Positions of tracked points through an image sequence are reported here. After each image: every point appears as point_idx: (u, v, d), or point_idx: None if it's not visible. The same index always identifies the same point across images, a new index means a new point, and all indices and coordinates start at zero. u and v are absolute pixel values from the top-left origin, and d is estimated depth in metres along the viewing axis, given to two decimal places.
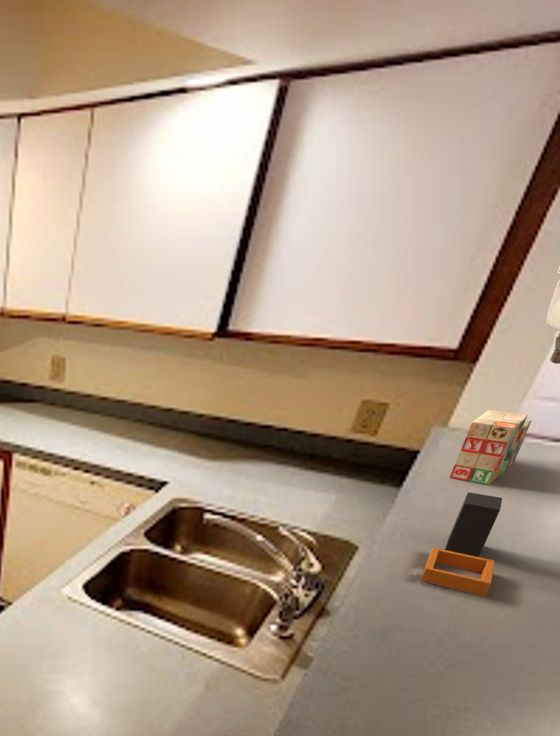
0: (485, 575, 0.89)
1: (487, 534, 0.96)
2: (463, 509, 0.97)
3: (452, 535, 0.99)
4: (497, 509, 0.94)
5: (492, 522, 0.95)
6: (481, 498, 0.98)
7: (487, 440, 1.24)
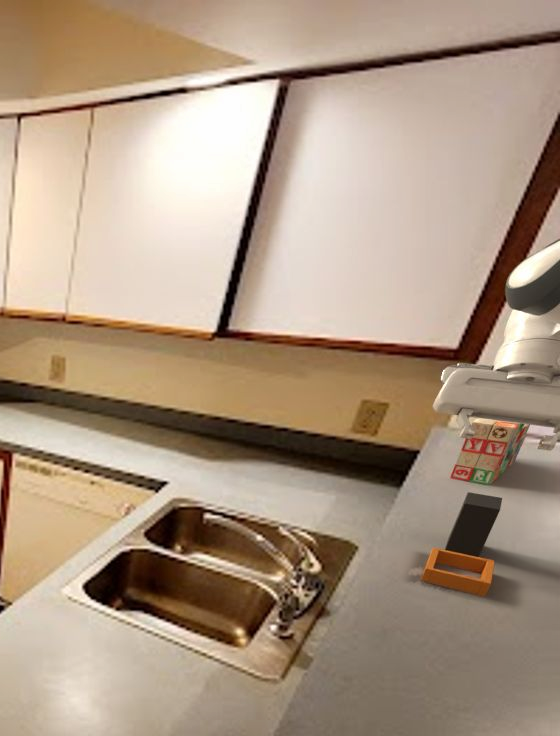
0: (485, 575, 0.89)
1: (487, 534, 0.96)
2: (463, 509, 0.97)
3: (452, 535, 0.99)
4: (497, 509, 0.94)
5: (492, 522, 0.95)
6: (481, 498, 0.98)
7: (488, 440, 1.24)
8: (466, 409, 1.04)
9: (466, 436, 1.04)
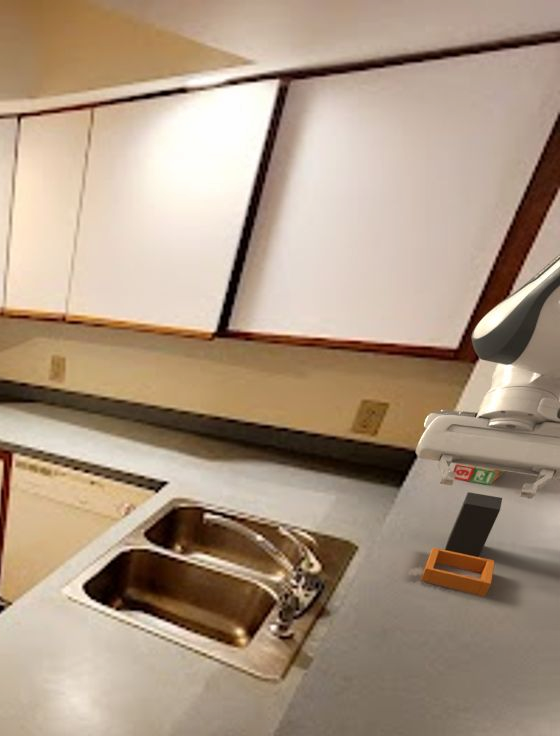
0: (485, 575, 0.89)
1: (487, 534, 0.96)
2: (463, 509, 0.97)
3: (452, 535, 0.99)
4: (497, 509, 0.94)
5: (492, 522, 0.95)
6: (481, 498, 0.98)
7: None
8: (446, 455, 1.04)
9: (446, 482, 1.04)
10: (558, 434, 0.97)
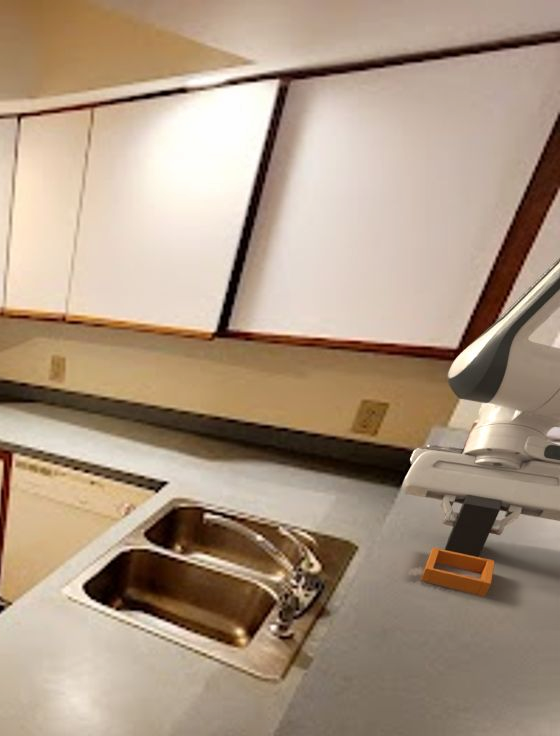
0: (485, 575, 0.89)
1: (487, 534, 0.96)
2: (463, 509, 0.97)
3: (452, 535, 0.99)
4: (497, 509, 0.94)
5: (492, 522, 0.95)
6: (481, 498, 0.98)
7: None
8: (449, 495, 1.01)
9: (449, 523, 1.01)
10: (545, 473, 0.95)
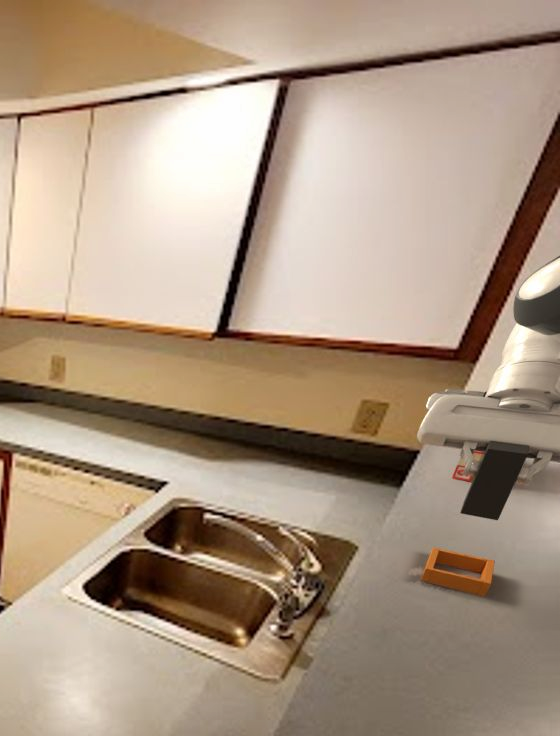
0: (485, 575, 0.89)
1: (513, 483, 0.86)
2: (486, 455, 0.87)
3: (473, 485, 0.89)
4: (525, 453, 0.84)
5: (519, 469, 0.85)
6: (506, 443, 0.88)
7: None
8: (470, 442, 0.91)
9: (469, 473, 0.91)
10: None
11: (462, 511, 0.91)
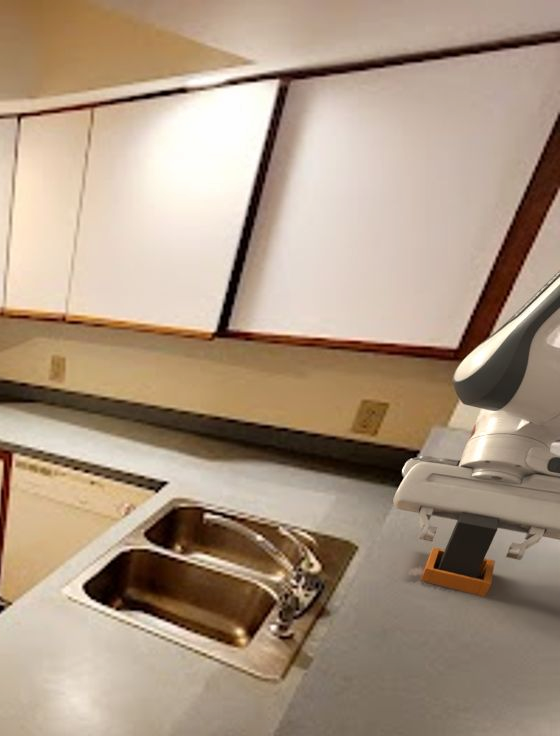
0: (485, 575, 0.89)
1: (483, 556, 0.88)
2: (457, 528, 0.89)
3: (445, 556, 0.91)
4: (494, 528, 0.86)
5: (489, 543, 0.87)
6: (477, 516, 0.90)
7: None
8: (426, 508, 0.94)
9: (426, 538, 0.94)
10: (549, 488, 0.87)
11: None
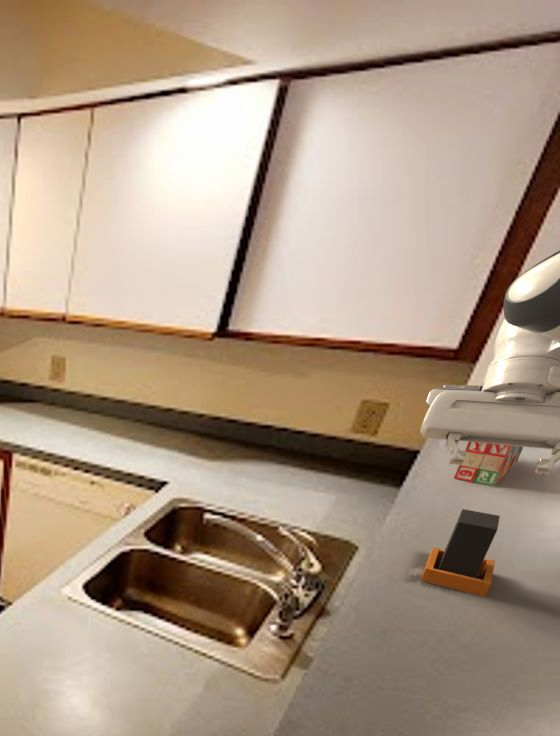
0: (485, 575, 0.89)
1: (483, 556, 0.88)
2: (457, 528, 0.89)
3: (445, 556, 0.91)
4: (494, 528, 0.86)
5: (489, 543, 0.87)
6: (477, 516, 0.90)
7: None
8: (454, 433, 0.99)
9: (455, 462, 0.98)
10: None
11: None
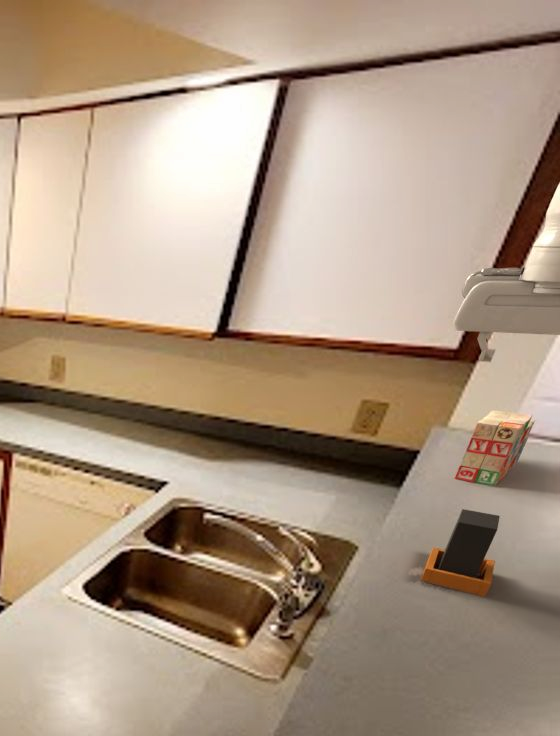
0: (485, 575, 0.89)
1: (483, 556, 0.88)
2: (457, 528, 0.89)
3: (445, 556, 0.91)
4: (494, 528, 0.86)
5: (489, 543, 0.87)
6: (477, 516, 0.90)
7: (493, 440, 1.24)
8: (484, 332, 0.98)
9: None
10: None
11: None
